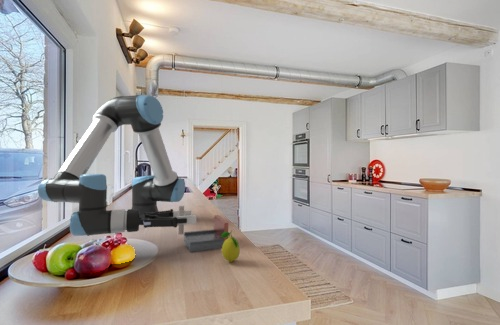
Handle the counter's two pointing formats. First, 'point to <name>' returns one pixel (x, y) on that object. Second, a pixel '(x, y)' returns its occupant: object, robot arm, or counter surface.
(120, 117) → the robot arm
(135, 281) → the counter surface
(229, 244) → the lemon
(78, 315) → the counter surface
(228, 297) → the counter surface
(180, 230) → the pipe connector
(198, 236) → the grey shallow tray
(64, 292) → the counter surface
